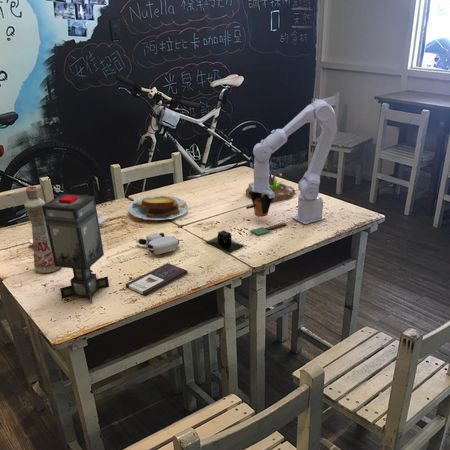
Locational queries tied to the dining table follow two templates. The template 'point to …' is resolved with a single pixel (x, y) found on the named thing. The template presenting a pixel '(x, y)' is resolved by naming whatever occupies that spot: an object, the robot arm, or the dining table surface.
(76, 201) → the explosive device
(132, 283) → the chocolate bar
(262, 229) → the spatula
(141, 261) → the dining table surface
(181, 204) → the food on plate
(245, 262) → the dining table surface
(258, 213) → the pot
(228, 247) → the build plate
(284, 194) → the plant
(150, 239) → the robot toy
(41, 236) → the bottle
